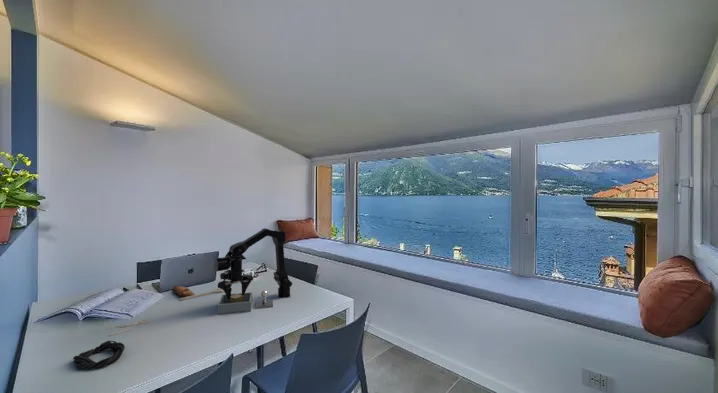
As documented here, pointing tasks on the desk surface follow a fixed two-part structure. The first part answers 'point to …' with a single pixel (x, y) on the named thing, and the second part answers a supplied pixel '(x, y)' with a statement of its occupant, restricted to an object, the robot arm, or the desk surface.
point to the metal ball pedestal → (264, 301)
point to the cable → (87, 363)
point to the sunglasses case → (182, 291)
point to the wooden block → (236, 298)
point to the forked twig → (130, 325)
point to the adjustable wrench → (203, 294)
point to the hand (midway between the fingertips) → (236, 297)
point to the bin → (235, 305)
